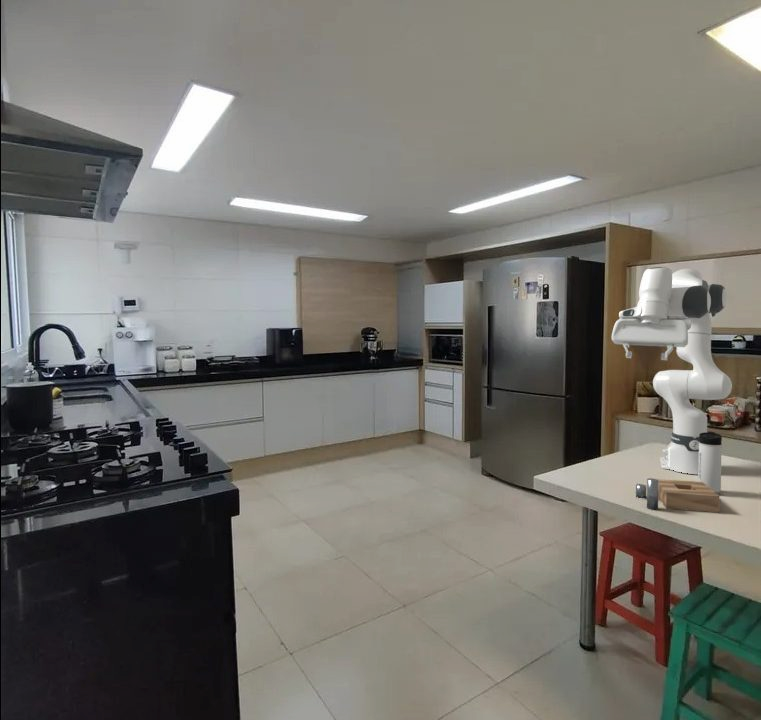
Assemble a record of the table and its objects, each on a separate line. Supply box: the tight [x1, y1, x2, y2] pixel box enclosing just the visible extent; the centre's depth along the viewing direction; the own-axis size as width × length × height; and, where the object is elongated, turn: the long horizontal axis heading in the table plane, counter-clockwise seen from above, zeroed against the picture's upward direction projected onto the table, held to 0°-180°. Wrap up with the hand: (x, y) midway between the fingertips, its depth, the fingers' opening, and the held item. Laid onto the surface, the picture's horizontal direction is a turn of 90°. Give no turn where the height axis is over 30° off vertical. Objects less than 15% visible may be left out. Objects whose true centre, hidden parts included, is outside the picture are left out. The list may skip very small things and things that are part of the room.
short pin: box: [635, 483, 647, 499], centre depth 155 cm, size 3×3×4 cm
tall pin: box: [646, 477, 659, 511], centre depth 145 cm, size 3×3×9 cm
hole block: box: [656, 478, 720, 513], centre depth 150 cm, size 14×14×5 cm
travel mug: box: [697, 431, 723, 496], centre depth 158 cm, size 6×7×20 cm
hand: (645, 358), depth 141 cm, fingers open, 8 cm apart
